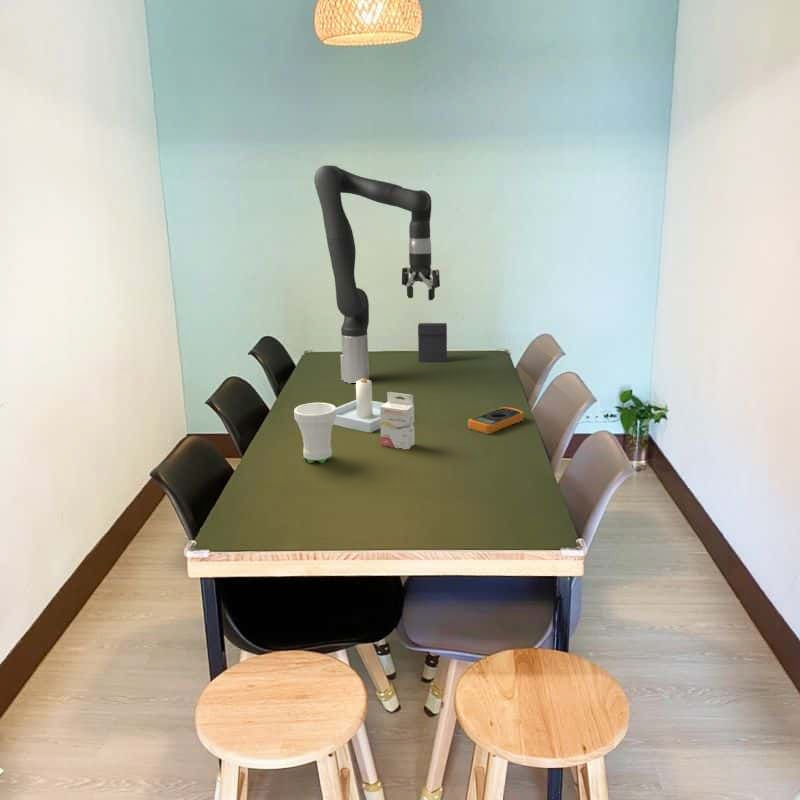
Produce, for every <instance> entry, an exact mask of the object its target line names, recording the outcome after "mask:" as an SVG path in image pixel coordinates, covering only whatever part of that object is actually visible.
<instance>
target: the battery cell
mask: <svg viewBox="0 0 800 800" xmlns="http://www.w3.org/2000/svg"><path fill="white" fill-rule="evenodd" d="M372 384H373V383H372V380H370V379H369V380H367V379H365V378H363V379H360V380H358V381H356V384H355V397H356V398H355V400H356V402H357V417H358V418H361V419H367V418H371V417H372V416H373V410H372V401H373V385H372Z"/></svg>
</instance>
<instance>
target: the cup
mask: <svg viewBox="0 0 800 800" xmlns="http://www.w3.org/2000/svg"><path fill="white" fill-rule="evenodd" d="M336 408H337V406H335V405H334V404H331V403H328V402H311V403H310V402H309V403H303V404H300V405H298V406H296V407H295V408H294V410H293V414H294V416H293V417H294V420H295V421H296V423H297V425H298V427H299V430H300V433H301V436H302V442H303V450H302V451H303V452H302V453H303V458H304V459H305V460H306V459H307V460H306V461H307V462H308V463H309V464H313V463H315V461H318V462H319V463H320V464H324V463H325V462H326V460H328V459H329V460H331V459H332V457H333V451H332V450H333V448H332V445H331V437H332V430H333V426H334V425H333V423H334V420H335V418H336Z"/></svg>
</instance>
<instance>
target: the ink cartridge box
mask: <svg viewBox="0 0 800 800" xmlns="http://www.w3.org/2000/svg"><path fill="white" fill-rule="evenodd" d="M386 397H387V401H386V402H384V403H385V404H383V405H382V406H380V425H381V428H380V446H381V447H387V446H389V447H388V448H393V447H394V449H399V448H402V449H401V450H406V449H408V450H410V448H412V447H413V446H414V445H415V405H414V395H412V394H407V393H400V392H392V391H387V393H386ZM399 397H401V399H400V398H399ZM403 398H404V399H403ZM411 446H412V447H411Z"/></svg>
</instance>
